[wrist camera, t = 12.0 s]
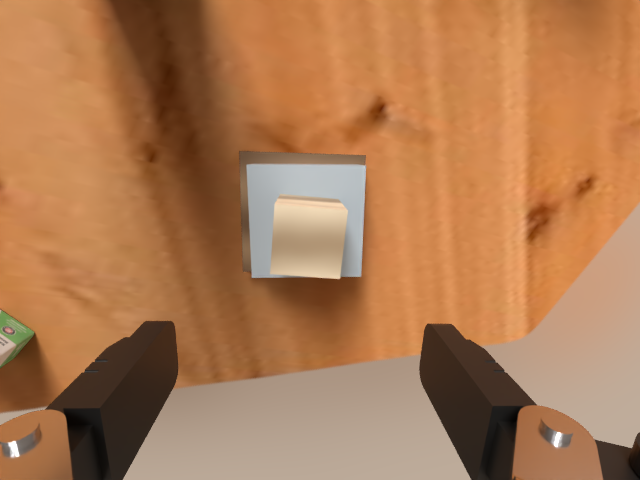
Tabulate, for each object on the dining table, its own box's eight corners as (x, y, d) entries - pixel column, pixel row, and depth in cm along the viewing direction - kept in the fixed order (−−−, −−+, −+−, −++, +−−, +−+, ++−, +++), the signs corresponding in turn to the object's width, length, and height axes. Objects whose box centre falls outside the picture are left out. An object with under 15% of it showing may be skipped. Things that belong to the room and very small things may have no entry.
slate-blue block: (253, 163, 30) (246, 164, 26) (358, 164, 31) (366, 165, 27) (257, 263, 33) (251, 277, 29) (354, 262, 33) (361, 276, 30)
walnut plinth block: (246, 151, 34) (239, 151, 30) (358, 155, 35) (365, 155, 31) (249, 259, 37) (243, 271, 33) (352, 260, 38) (358, 272, 34)
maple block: (280, 193, 27) (274, 204, 21) (338, 199, 28) (348, 210, 22) (276, 249, 28) (270, 274, 23) (332, 254, 29) (339, 279, 23)
